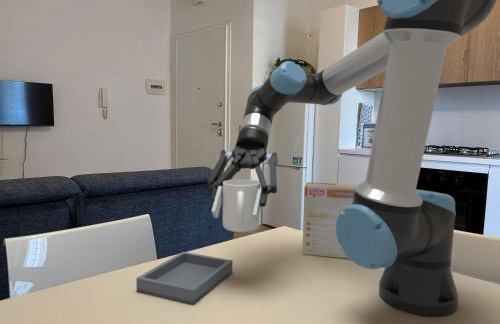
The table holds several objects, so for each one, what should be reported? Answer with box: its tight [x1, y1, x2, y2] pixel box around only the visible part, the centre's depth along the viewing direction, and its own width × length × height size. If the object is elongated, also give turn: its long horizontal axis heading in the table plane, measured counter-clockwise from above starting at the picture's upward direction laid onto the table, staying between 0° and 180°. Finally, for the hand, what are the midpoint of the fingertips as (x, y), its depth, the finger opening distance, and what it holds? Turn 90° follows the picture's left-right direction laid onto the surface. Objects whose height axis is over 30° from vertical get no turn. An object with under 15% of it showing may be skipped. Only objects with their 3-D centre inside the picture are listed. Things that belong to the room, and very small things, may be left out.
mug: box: [222, 178, 261, 233], centre depth 82 cm, size 12×8×10 cm
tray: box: [135, 251, 234, 306], centre depth 85 cm, size 14×18×3 cm
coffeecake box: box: [302, 182, 358, 260], centre depth 105 cm, size 15×7×20 cm, turn 76°
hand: (234, 216), depth 79 cm, fingers closed on mug, 8 cm apart
